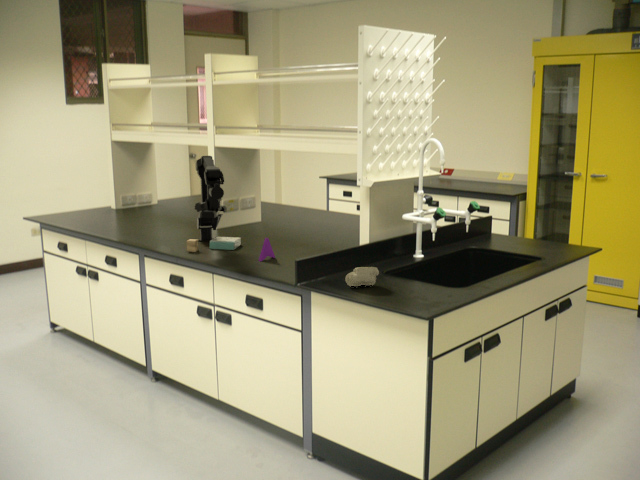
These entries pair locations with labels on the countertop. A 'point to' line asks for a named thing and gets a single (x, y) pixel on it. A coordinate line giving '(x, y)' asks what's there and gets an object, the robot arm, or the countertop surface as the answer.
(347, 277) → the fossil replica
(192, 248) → the beech block
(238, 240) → the block
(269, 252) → the arrowhead
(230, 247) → the tray
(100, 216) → the countertop surface
